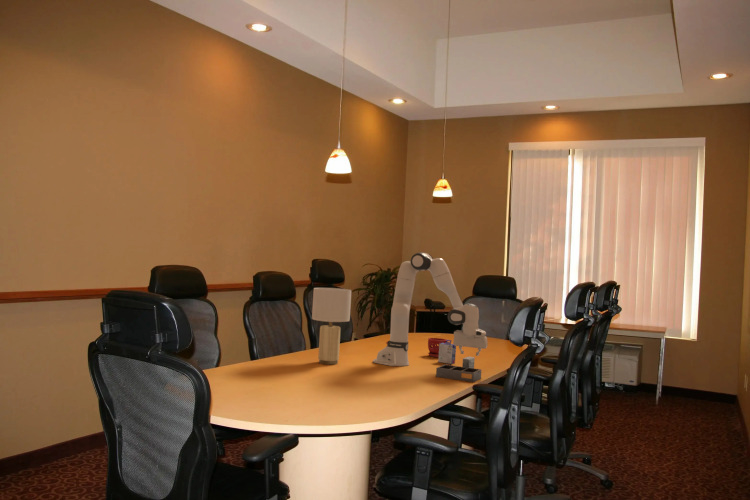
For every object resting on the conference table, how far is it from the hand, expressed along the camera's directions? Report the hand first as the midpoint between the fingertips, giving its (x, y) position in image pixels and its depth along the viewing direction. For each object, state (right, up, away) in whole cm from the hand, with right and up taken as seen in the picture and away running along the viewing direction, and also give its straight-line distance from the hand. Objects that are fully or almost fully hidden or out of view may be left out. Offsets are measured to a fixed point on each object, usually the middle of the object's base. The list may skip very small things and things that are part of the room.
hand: (469, 354), depth 370 cm
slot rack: (-9, -10, -15) cm, 20 cm away
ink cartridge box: (-10, -11, +31) cm, 35 cm away
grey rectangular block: (-1, -11, 0) cm, 11 cm away
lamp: (-84, -6, +6) cm, 85 cm away
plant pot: (-14, -11, +55) cm, 57 cm away
